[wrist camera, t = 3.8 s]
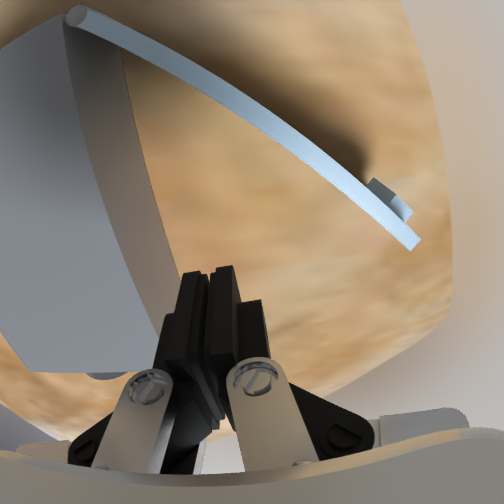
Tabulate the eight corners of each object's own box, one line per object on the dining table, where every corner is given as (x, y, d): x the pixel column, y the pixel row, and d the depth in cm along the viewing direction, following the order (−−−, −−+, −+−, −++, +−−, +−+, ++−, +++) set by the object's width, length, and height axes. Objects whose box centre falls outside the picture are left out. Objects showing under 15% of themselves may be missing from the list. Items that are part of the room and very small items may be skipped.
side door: (132, 16, 13) (84, -13, 7) (378, 183, 19) (431, 227, 13) (116, 39, 14) (61, 22, 8) (362, 202, 20) (409, 252, 14)
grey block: (116, 32, 14) (51, 9, 7) (192, 312, 24) (181, 394, 17) (-18, 103, 14) (-93, 126, 7) (69, 326, 24) (37, 393, 18)
